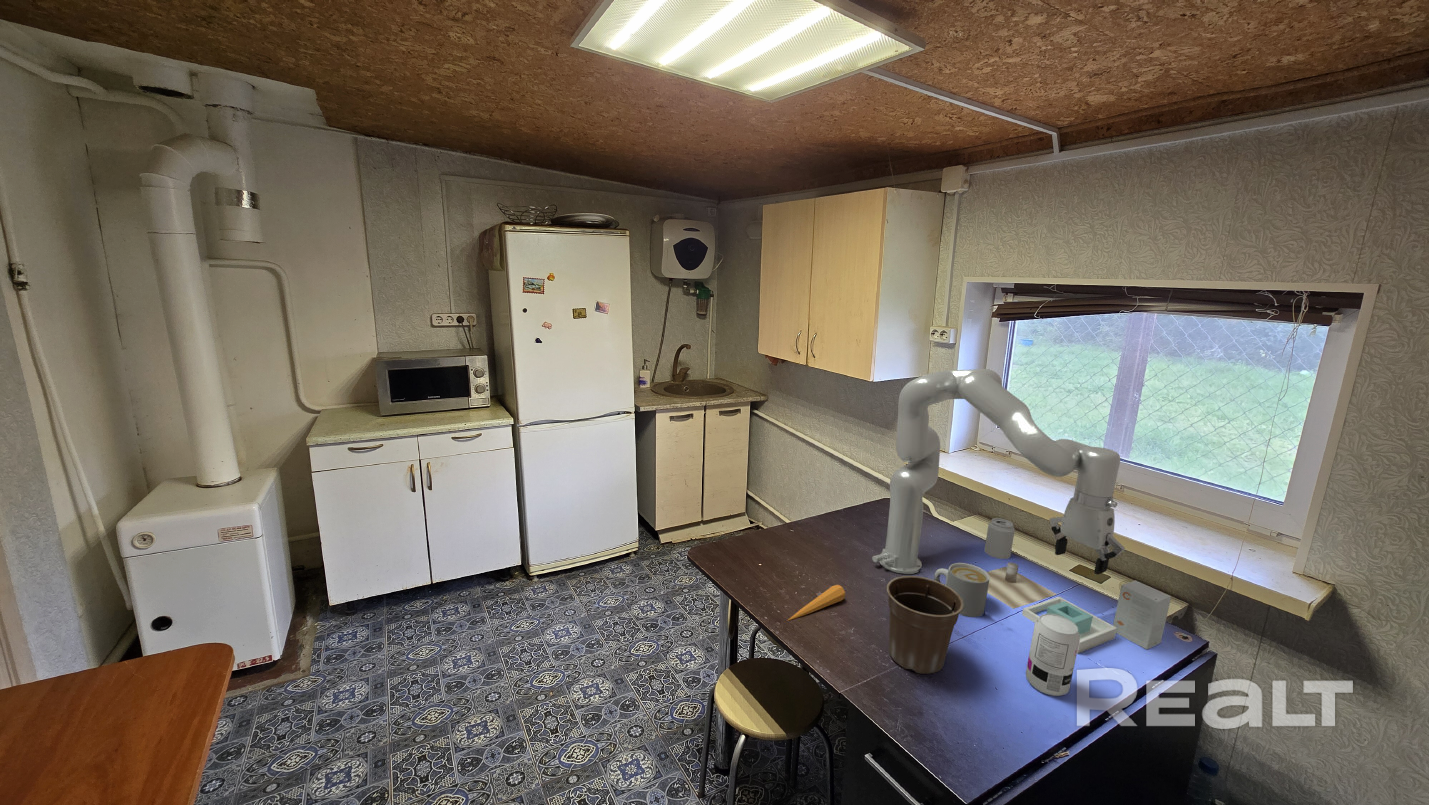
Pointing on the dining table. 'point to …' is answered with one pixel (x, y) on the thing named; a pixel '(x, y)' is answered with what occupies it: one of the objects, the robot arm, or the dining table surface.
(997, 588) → the stake base
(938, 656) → the plant pot
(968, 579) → the coffee mug
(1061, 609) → the collar
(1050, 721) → the dining table surface
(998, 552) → the can
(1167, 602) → the small box
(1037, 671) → the supplement can
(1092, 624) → the tray
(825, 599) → the carrot
